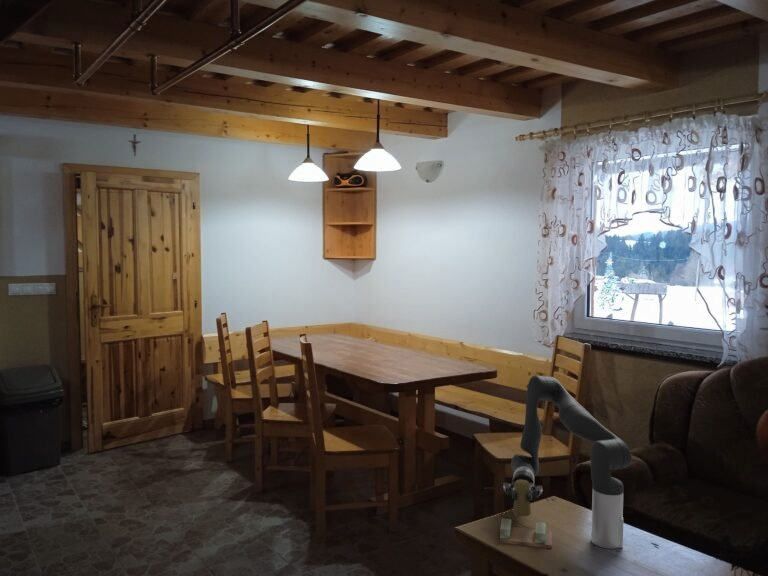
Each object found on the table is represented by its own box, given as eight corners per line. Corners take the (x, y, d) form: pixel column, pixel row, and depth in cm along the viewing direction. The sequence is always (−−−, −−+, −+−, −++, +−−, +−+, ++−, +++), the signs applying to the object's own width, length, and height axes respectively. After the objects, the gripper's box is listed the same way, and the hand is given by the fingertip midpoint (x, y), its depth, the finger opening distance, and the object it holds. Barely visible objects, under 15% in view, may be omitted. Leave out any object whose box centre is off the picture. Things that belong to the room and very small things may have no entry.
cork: (532, 516, 207) (533, 484, 206) (514, 516, 207) (514, 483, 206) (528, 508, 213) (529, 477, 212) (511, 508, 213) (511, 477, 212)
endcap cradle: (551, 534, 204) (551, 522, 204) (551, 548, 194) (551, 536, 194) (502, 528, 208) (502, 517, 208) (499, 542, 198) (500, 530, 198)
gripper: (503, 468, 225) (500, 485, 208) (543, 471, 221) (543, 489, 205) (503, 488, 225) (500, 507, 209) (543, 492, 222) (543, 511, 205)
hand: (521, 498), depth 207 cm, fingers closed on cork, 3 cm apart
